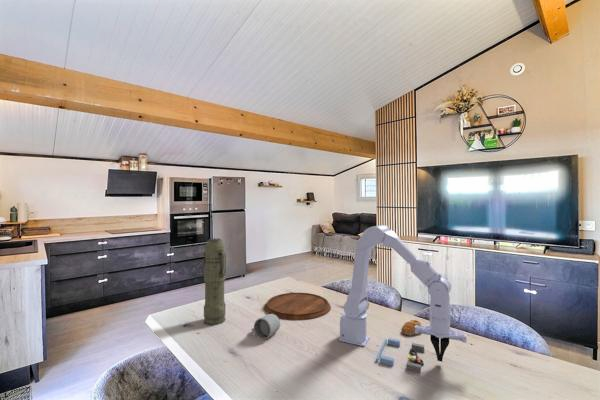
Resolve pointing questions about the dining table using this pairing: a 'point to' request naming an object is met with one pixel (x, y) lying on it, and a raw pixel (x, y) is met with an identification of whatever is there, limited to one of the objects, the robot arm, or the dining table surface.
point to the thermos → (214, 282)
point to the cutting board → (297, 306)
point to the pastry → (410, 327)
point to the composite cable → (415, 358)
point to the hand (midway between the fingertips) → (439, 359)
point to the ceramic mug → (266, 326)
